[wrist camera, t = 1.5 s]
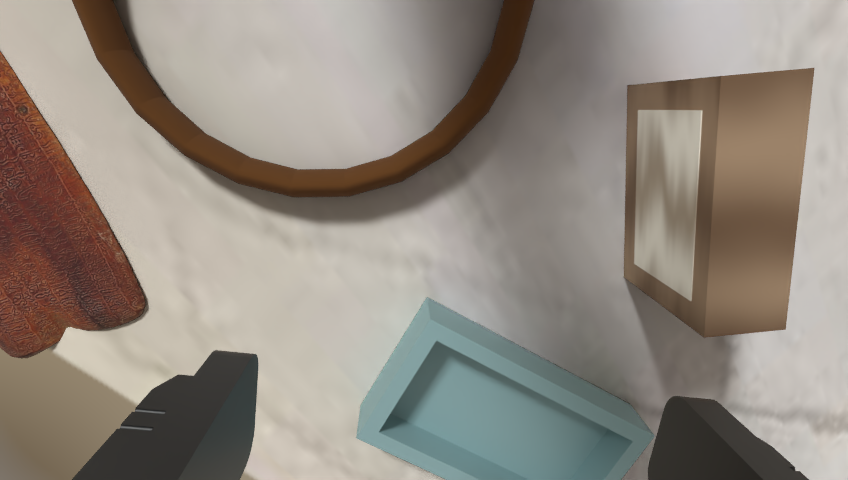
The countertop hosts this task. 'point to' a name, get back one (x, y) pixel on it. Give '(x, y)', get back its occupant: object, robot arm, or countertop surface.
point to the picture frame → (716, 196)
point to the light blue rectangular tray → (493, 409)
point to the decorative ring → (191, 141)
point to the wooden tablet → (51, 238)
